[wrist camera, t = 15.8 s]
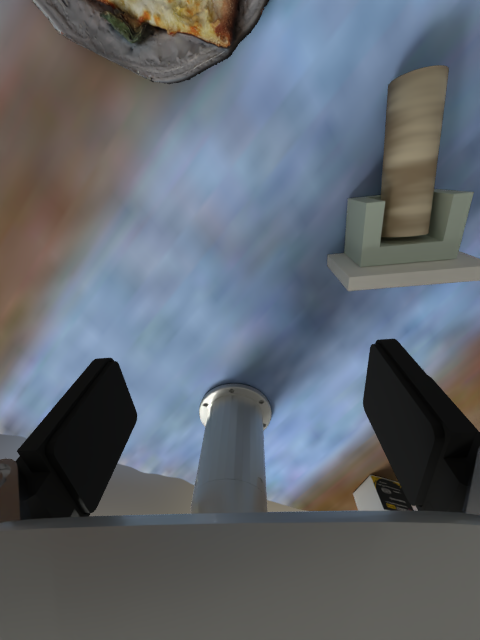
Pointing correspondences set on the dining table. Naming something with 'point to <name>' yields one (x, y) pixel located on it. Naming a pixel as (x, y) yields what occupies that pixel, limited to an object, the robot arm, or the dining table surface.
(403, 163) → the dowel
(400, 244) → the block
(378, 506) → the black and yellow box
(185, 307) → the dining table surface
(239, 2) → the food plate
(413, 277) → the base
